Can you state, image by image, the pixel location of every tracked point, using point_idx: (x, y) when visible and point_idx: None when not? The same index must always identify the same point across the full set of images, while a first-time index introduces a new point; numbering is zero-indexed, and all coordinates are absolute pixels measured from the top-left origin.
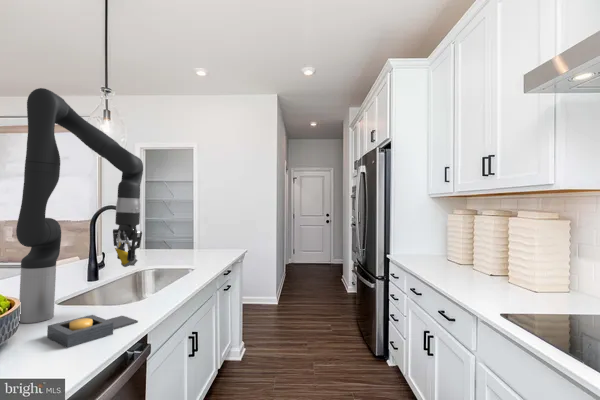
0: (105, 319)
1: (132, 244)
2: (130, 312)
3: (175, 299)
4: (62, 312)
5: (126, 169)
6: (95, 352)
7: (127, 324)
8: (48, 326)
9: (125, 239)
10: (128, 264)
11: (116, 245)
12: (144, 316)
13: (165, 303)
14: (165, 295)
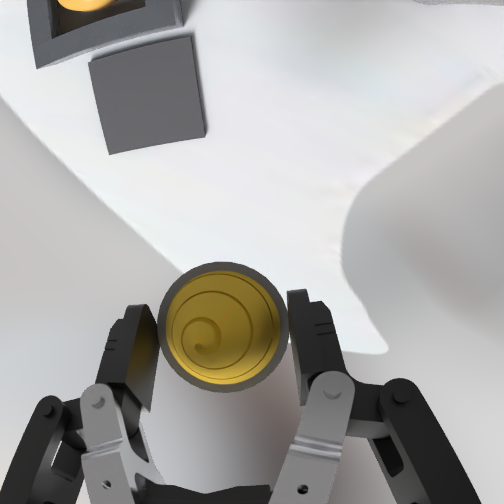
0: (80, 51)
1: (38, 432)
2: (243, 178)
3: None
4: (431, 37)
5: None
6: None
7: (101, 118)
8: None
9: (117, 492)
10: (170, 289)
11: (378, 394)
12: (161, 192)
13: None
14: (335, 321)
